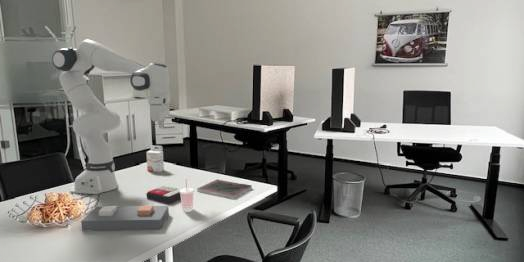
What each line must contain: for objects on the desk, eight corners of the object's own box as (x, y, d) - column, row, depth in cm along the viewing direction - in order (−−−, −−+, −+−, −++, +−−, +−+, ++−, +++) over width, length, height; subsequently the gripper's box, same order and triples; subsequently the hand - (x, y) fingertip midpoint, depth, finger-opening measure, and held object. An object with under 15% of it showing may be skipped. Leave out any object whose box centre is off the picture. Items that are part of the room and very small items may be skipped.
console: (82, 230, 143) (81, 220, 142) (97, 215, 156) (96, 206, 156) (160, 229, 143) (160, 219, 143) (168, 214, 157) (168, 205, 156)
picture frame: (251, 190, 189) (217, 183, 199) (251, 185, 188) (216, 178, 199) (233, 200, 174) (197, 192, 185) (233, 195, 174) (197, 188, 184)
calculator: (162, 184, 185) (185, 188, 177) (163, 193, 185) (186, 197, 178) (145, 191, 176) (168, 195, 168) (146, 200, 176) (169, 204, 168)
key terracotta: (137, 220, 147) (137, 210, 146) (141, 214, 152) (140, 205, 151) (150, 219, 147) (149, 210, 147) (153, 214, 152) (153, 205, 151)
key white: (99, 220, 147) (98, 211, 146) (104, 215, 152) (103, 206, 151) (112, 220, 147) (111, 211, 146) (116, 215, 152) (116, 206, 151)
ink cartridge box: (147, 171, 219) (145, 146, 216) (151, 168, 224) (149, 145, 221) (160, 172, 217) (158, 147, 214) (164, 169, 222) (163, 145, 219)
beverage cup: (196, 210, 161) (195, 179, 159) (183, 213, 158) (181, 182, 155) (191, 206, 166) (190, 175, 164) (178, 208, 163) (176, 178, 160)
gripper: (159, 96, 182) (160, 124, 185) (147, 100, 162) (148, 132, 165) (172, 96, 182) (173, 124, 185) (161, 101, 162) (162, 132, 165)
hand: (161, 127), depth 175 cm, fingers closed
